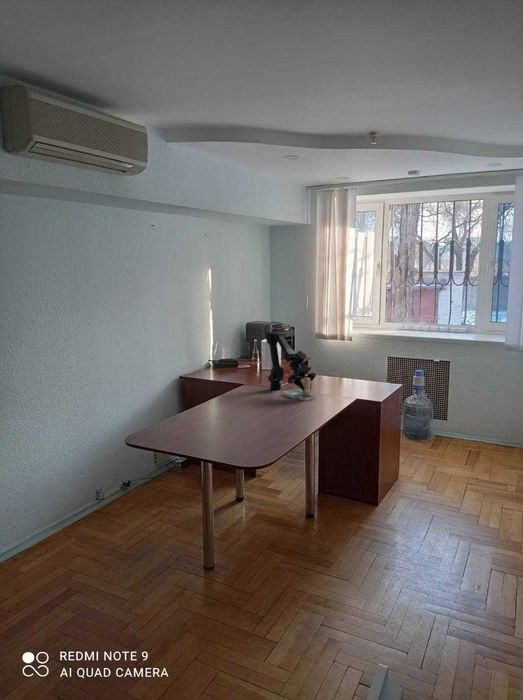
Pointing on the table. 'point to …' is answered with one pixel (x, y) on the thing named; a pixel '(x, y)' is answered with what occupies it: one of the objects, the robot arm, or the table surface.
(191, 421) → the table surface
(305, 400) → the dowel holder
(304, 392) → the dowel
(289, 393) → the tray
